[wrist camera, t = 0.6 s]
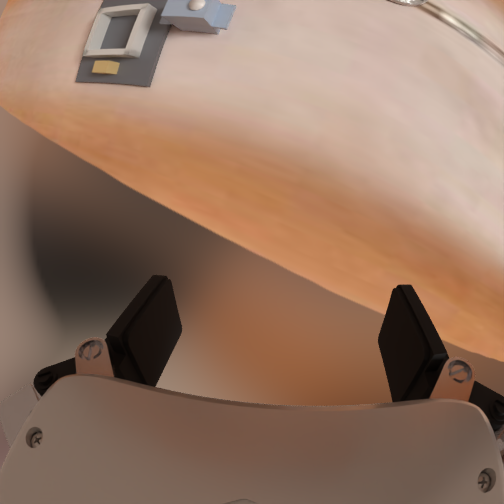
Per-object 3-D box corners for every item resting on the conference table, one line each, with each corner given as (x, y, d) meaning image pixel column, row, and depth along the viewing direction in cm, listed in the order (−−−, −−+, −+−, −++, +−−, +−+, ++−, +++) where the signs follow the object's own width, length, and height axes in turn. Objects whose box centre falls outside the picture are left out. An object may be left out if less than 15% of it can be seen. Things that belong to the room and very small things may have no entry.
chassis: (109, -4, 24) (97, -10, 21) (186, -10, 24) (177, -20, 21) (79, 81, 32) (64, 81, 29) (150, 86, 33) (136, 84, 29)
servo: (178, 9, 26) (157, -9, 20) (240, 14, 26) (229, -7, 20) (169, 29, 28) (146, 15, 21) (231, 36, 28) (218, 18, 22)
